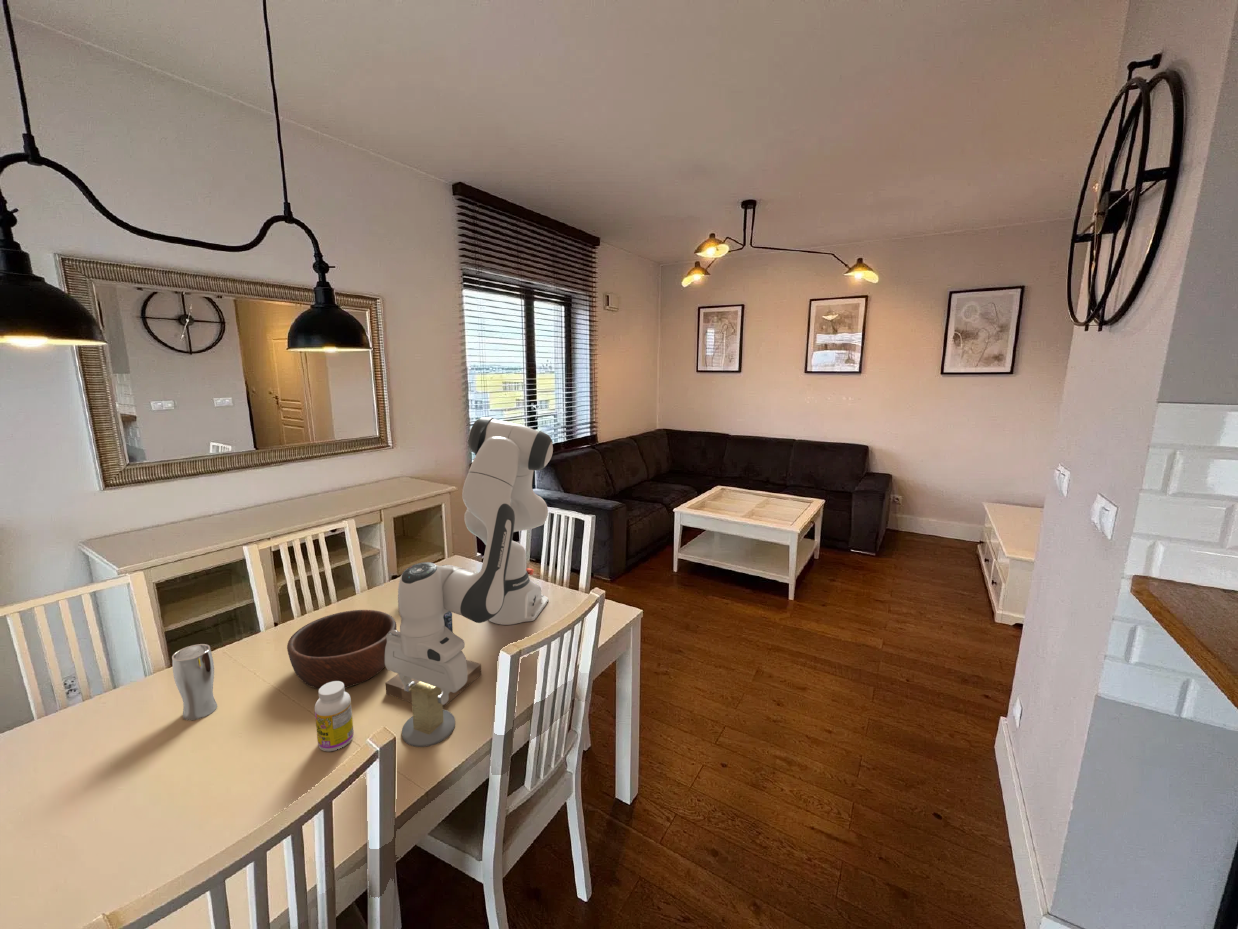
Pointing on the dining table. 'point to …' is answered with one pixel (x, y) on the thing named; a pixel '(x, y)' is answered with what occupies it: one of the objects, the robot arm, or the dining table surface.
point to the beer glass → (195, 680)
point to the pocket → (397, 687)
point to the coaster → (424, 739)
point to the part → (426, 707)
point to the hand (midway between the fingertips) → (426, 696)
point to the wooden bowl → (341, 647)
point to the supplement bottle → (333, 717)
